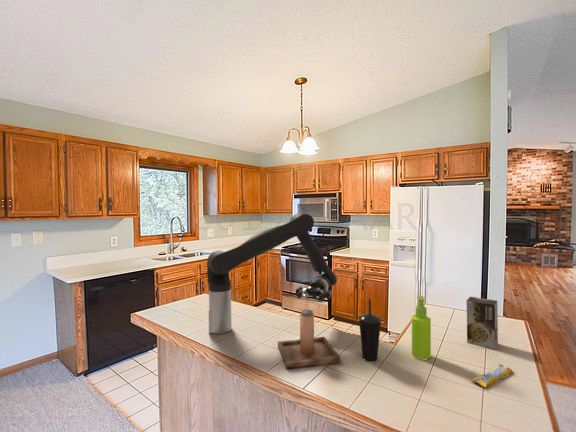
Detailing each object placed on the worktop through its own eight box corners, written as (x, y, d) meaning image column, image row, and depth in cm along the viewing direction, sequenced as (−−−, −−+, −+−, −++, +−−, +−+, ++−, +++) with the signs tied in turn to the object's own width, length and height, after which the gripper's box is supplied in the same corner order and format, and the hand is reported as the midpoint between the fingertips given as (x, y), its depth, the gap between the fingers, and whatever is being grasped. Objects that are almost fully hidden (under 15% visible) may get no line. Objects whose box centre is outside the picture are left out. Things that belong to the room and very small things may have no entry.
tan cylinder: (298, 353, 100) (298, 313, 100) (302, 347, 105) (302, 308, 105) (312, 355, 99) (312, 314, 98) (315, 349, 103) (315, 310, 103)
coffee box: (498, 343, 108) (498, 300, 108) (495, 350, 104) (495, 304, 104) (470, 336, 115) (470, 295, 114) (466, 342, 110) (466, 299, 110)
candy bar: (499, 368, 93) (499, 362, 93) (515, 374, 89) (515, 368, 89) (468, 383, 85) (468, 377, 85) (484, 391, 81) (484, 384, 81)
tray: (286, 369, 92) (286, 363, 92) (277, 347, 108) (277, 341, 108) (340, 363, 96) (340, 357, 96) (324, 342, 111) (324, 336, 111)
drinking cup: (383, 365, 94) (382, 303, 94) (358, 362, 96) (358, 302, 96) (380, 353, 102) (380, 296, 102) (358, 351, 103) (357, 295, 103)
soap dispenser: (429, 351, 103) (429, 295, 103) (431, 361, 96) (431, 300, 96) (411, 349, 105) (410, 293, 104) (412, 358, 98) (412, 299, 98)
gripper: (303, 278, 132) (292, 286, 116) (334, 280, 127) (327, 289, 112) (302, 294, 132) (291, 305, 116) (334, 297, 127) (327, 309, 112)
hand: (309, 297), depth 114 cm, fingers open, 8 cm apart
